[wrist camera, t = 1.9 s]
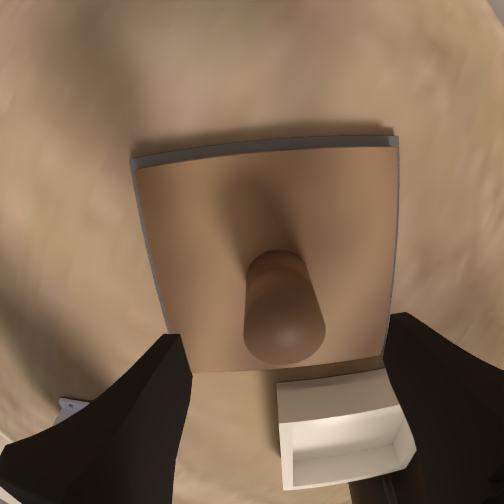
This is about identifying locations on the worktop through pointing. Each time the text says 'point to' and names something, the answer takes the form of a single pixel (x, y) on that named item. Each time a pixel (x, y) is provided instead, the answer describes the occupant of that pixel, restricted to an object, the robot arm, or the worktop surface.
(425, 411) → the robot arm
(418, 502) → the mug
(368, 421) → the dish
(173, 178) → the lid
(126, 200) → the worktop surface
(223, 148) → the mat
